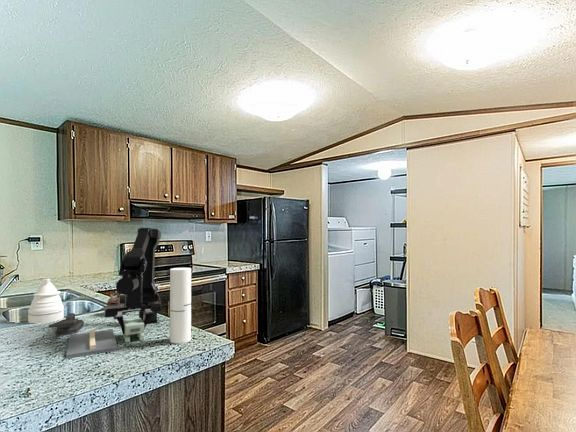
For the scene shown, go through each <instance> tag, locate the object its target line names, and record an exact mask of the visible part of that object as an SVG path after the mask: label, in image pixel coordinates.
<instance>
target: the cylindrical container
mask: <svg viewBox="0 0 576 432" xmlns="http://www.w3.org/2000/svg"><path fill="white" fill-rule="evenodd" d="M169 274H170V275H169V278H170V279H169V343H172V344H185V343H188V342H190V341H191V340H192V268H191V267H173V268H170V269H169Z"/></svg>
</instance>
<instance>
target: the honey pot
mask: <svg viewBox="0 0 576 432" xmlns="http://www.w3.org/2000/svg"><path fill="white" fill-rule="evenodd" d="M42 281H43V283H41V285H40V286H39V287H38V288H37V290H36V292H35V293H33V295H32V296H33V299H32V300H31V304H30V307H29V308H28V309H27V310H28V311H27V312H28V315H27V319H28V321H27V323H28V324H31V323H41V324H48V323H47V322H49V323H54V322H53V321H55V322H58V321H57V320H59V321H61V320H64V317H65V310H64V309H65V306H64V304H63V302H62V298H61V296H60V294H61V293H62V292H61V291H60V290H58V289H57V288H56V286H55V285H54V284H53V283H52V282H51V278H43V280H42Z"/></svg>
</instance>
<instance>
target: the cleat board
mask: <svg viewBox="0 0 576 432" xmlns="http://www.w3.org/2000/svg"><path fill="white" fill-rule="evenodd" d="M68 336H69V339H68V344H67V350H66V354H65V355H66V358H65V359H71V358H78V357H83V356H89V355H94V354H96V355H97V354H102V353H108V352H115V350H116V351H118V349H119V348H118V344H117V340H116V335H115V331H114V329H112V328H110V329H104V330H97V331H95V329H90V330H89V332H81V333H74V334H70V335H68Z"/></svg>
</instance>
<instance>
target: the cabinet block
mask: <svg viewBox="0 0 576 432" xmlns="http://www.w3.org/2000/svg"><path fill="white" fill-rule="evenodd" d="M123 321H124V329H125V334H124V335H123V334H122V336H123V339H124V341H125V343H130V342H131V337H130V336H131V335H135V334H136V335H137V338H138V339H139V341H145V334H144V333H145V329H144V323H143V321H142V319H141V318H139V317H137V318H130V319H129V318H128V319H123Z"/></svg>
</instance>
